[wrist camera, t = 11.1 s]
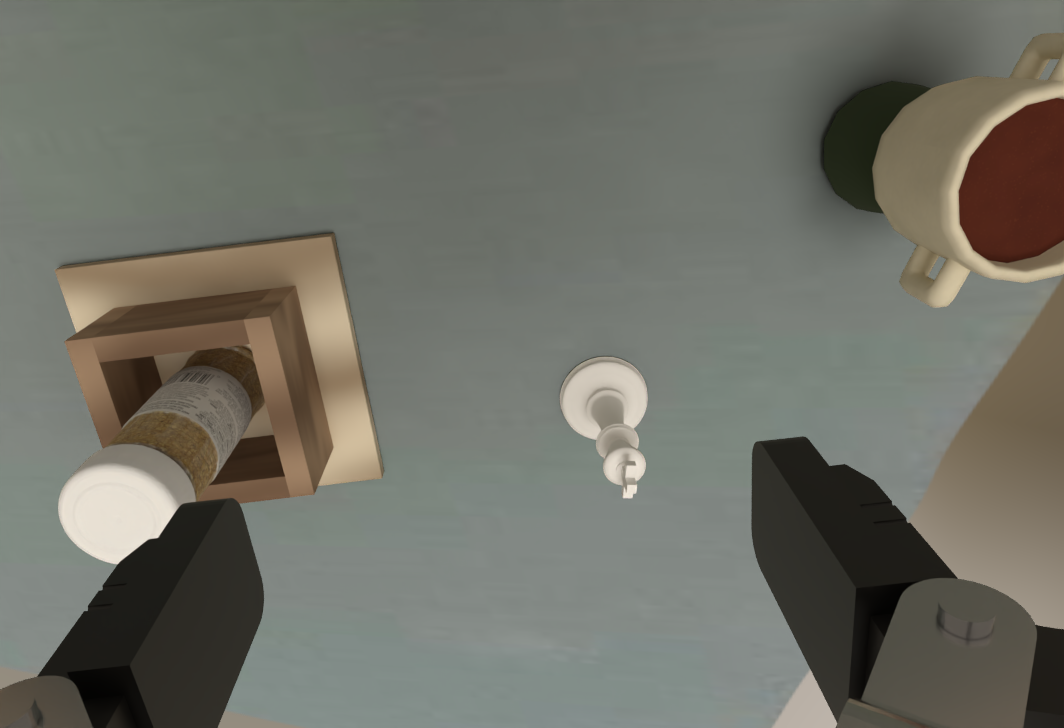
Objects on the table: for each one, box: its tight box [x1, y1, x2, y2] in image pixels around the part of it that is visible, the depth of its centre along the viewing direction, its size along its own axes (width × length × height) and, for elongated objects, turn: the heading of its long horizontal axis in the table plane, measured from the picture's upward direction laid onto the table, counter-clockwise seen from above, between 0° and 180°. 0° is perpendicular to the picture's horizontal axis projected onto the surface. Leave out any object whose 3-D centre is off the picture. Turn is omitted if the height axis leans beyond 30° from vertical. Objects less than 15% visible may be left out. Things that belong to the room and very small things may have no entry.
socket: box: [55, 233, 384, 503], centre depth 40 cm, size 14×14×6 cm
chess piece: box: [560, 357, 648, 498], centre depth 40 cm, size 5×5×10 cm
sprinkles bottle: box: [58, 346, 265, 564], centre depth 36 cm, size 5×5×13 cm
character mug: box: [824, 33, 1064, 307], centre depth 34 cm, size 11×7×13 cm, turn 160°
